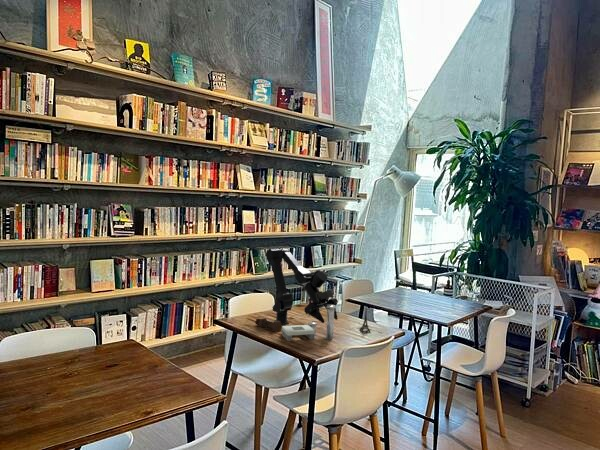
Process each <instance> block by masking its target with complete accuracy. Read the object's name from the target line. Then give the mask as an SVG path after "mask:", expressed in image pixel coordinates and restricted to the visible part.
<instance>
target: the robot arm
mask: <svg viewBox="0 0 600 450" xmlns="http://www.w3.org/2000/svg"><path fill="white" fill-rule="evenodd" d="M265 257H266V260H267V263H268V264H269V265H270V266H271V268H272V273H273V274H272V275H273V278H274V282H275V287H276V291H277V293H276V296H275V303H274V304H273V306H272V311H273V312H275V313H276V314H275V319H274V320H273V322H275V321H280V322H281V324H282V325H284V324H285V325H286V324H288V325H289V324H290V322H289V321H288V312H289V311H291V310H292V307H293V305H294V301H295V300H294V299H293V293H291V292H288V290H287V285H286V281H285V276H284V272H283V267H282V262H283V261H284V262H285V263H286V264H287V265H288V267H289V268H290V269H291V271H292V272H293V274H294V275H293V276H294V278H295V280H296V282H297V283H298V284H300V285H302V284H305V285H302V287H301V292H306V294H307V295H308V301H309V303H307V305H306V306H305V307H304V312H305V315H308V316H311V317H312V318H314V319H316V320H318V321H319V322H320V323H322V324H324V323H325V320H324V317H323V315H322V314H321V312H320V309H322V308H325V309H326V310H327V307H326V305H335V306H336V307H337V305H338V303H339V300H338V299H337V298H335V297H334V295H335V293H334V290H333V289H332V288H329V289H327V290H326V291H320V290H319V289H321V287H322V286H323V285H324V284H325V283H326V282H327V281H328V276H327V274H325V273H324V272H322V271H321V270H320V269H316V270H315V272H314V273H312V272H311V271H310V270H308V269H307V268H306V267H303V266H302V265H301V264H300V262H299V261H298V260H297V258H295V256H294V255H293V254H292V253H291V250H290V249H288V248H283V249H280V248H269V249H267V250H266V252H265ZM334 320H336V321H337V320H338V314H337V309H336V308H334Z"/></svg>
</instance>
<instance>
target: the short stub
mask: <svg viewBox="0 0 600 450" xmlns="http://www.w3.org/2000/svg"><path fill="white" fill-rule="evenodd" d="M307 325H309V326H310V327H311V328H312V329H313V330H315V334H316V331H317V330H316V329H317V326H318V322H316V321H308V323H307Z"/></svg>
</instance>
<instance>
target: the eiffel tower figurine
mask: <svg viewBox="0 0 600 450" xmlns="http://www.w3.org/2000/svg"><path fill="white" fill-rule="evenodd" d="M367 311H368V310H367V307H365V313H364V314H365V315H364V320H363V324H362V325H361V326H359V327H357V328H356V329H357V330H359V333H361V334H372V332H377V333H378V334H380V335H381V334H383V332H381V331H379V330H378V331H377V330H374V329H373V328H369V325H368V321H367V320H368V318H367V315H368V314H367ZM348 330H350V331H351V330H355V328H354V327H352V328H349V329H348Z"/></svg>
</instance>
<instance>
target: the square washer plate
mask: <svg viewBox="0 0 600 450" xmlns="http://www.w3.org/2000/svg"><path fill="white" fill-rule="evenodd" d="M315 334H316V333H315V330H313V329H312V328H311V327H310V326H309V325H308V324H301V325H300V324H298V325H296V324H295V325H282V328H281V336H283V338H284V339H285V340H286V341H287V342H291V341H293V336H303V335H305V336H306V337H307V338H309V340H310V341H311V340H315V339H316V336H315Z"/></svg>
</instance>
